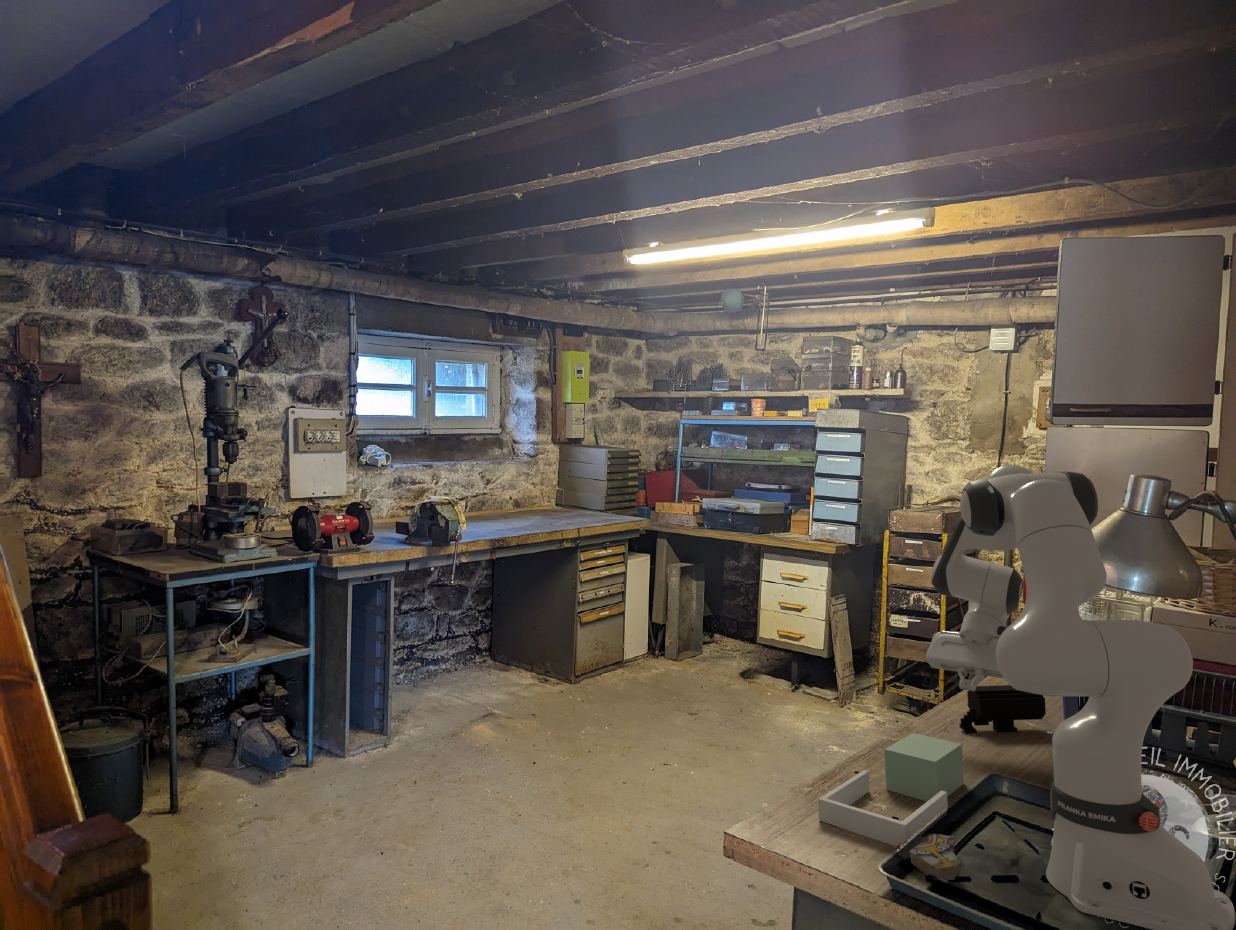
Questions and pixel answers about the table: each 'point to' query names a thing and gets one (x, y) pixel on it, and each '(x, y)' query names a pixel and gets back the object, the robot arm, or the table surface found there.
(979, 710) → the security camera
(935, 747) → the block
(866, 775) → the box
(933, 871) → the ceramic tile fragment
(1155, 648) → the robot arm
